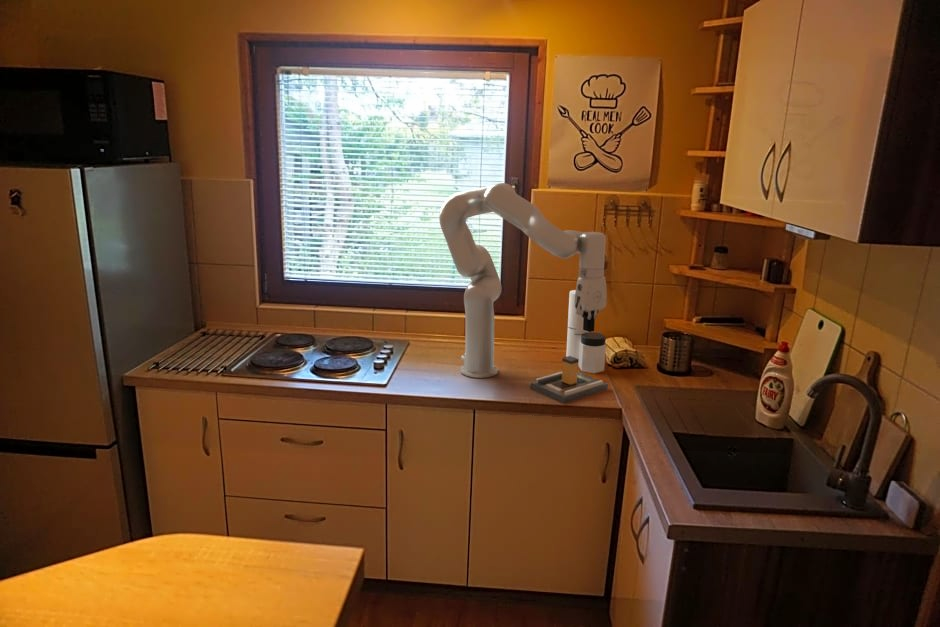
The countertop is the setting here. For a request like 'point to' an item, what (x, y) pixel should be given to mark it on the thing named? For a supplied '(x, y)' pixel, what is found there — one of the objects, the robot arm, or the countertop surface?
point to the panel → (568, 388)
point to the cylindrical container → (574, 328)
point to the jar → (592, 352)
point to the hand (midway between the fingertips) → (588, 330)
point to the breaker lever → (569, 370)
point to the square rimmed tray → (571, 391)
